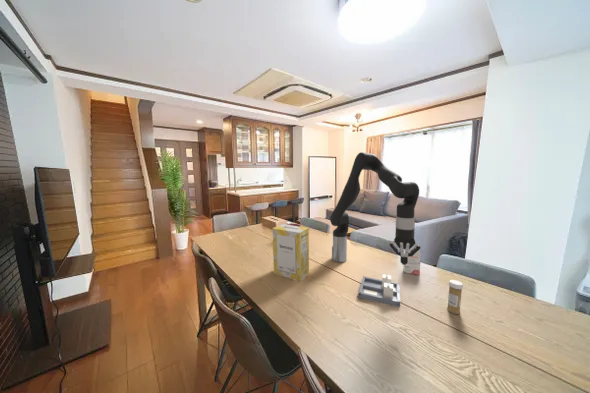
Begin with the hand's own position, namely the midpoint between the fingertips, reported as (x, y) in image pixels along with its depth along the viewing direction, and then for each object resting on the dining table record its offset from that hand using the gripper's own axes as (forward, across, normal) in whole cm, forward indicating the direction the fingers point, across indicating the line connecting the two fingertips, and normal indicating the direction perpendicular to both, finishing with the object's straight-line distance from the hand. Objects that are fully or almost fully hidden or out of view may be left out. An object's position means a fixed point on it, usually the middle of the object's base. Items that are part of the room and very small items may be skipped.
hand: (403, 264), depth 96 cm
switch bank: (+18, -10, +4) cm, 21 cm away
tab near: (+17, -6, 0) cm, 18 cm away
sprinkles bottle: (+19, +20, +2) cm, 28 cm away
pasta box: (+17, -59, +4) cm, 62 cm away
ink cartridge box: (+18, +6, +34) cm, 39 cm away
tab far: (+17, -7, +8) cm, 20 cm away
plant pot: (+15, -84, +57) cm, 102 cm away
